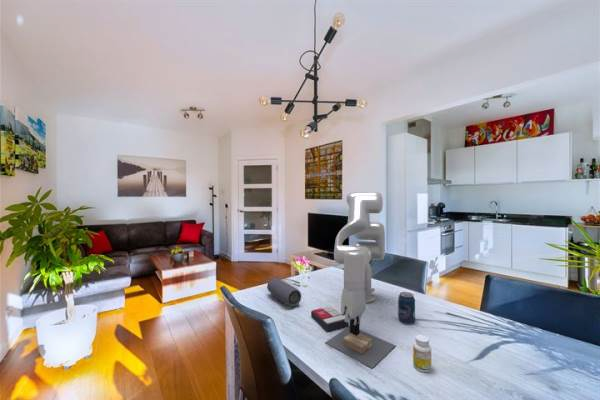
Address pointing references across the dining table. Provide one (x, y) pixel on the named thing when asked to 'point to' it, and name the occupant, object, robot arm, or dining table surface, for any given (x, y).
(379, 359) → the mat
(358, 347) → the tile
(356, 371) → the dining table surface
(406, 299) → the soda can
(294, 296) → the bluetooth speaker
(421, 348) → the supplement bottle
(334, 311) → the red and cream box
